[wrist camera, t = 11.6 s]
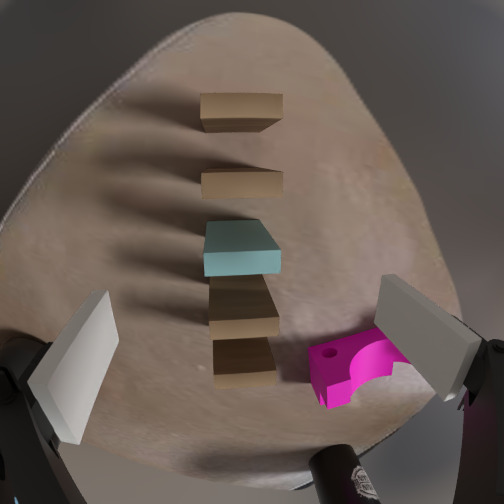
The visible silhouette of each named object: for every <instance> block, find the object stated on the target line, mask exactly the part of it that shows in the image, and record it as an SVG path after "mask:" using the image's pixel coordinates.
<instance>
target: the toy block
mask: <svg viewBox="0 0 504 504" xmlns="http://www.w3.org/2000/svg"><path fill="white" fill-rule="evenodd" d="M308 355H309V365H310V376H311V384H312V387H313V389H314V391H315V394H316V396H317V398H318V401H319V403H320V405H323V404H325V405H326V407H327V409H330V408H334V407H337V406H340V405H343V404H346V403H349V402H350V397H351V396H352V394H353V393H354V391H355V390H356V389H357V388H358V387H359V386H360V385H362V384H363V383H365V382H367V381H369V380H371V379H374V378H377V377H381V376H388V375H392V368H393V362H405V363H409V364H411V363H410V362H409V361H408V360H407V358H406V357H405V356H404V355H403V354H402V353H401V352H400V351H399V350H398V348H397V347H396V346H395V345H394V344H393V343H392V342H391V341H390V340H389V339H388V338H387V336H386V335H385V334H384V333H383V332H382V331H381V330H380V329H379V328H378V327H376V328H373V329H370V330H367V331H364V332H361V333H357V334H354V335H351V336H348V337H344V338H341V339H337V340H334V341H330V342H327V343H323V344H319V345H316V346H312V347H308Z"/></svg>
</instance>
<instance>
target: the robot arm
mask: <svg viewBox="0 0 504 504" xmlns="http://www.w3.org/2000/svg"><path fill="white" fill-rule="evenodd" d="M374 324H375V325H376V326H377V327H378V328H379V329H380V330H381V331H382V332H383V333H384V334H385V335H386V336H387V338H388V339H389V340H390V341H391V342H392V343H393V344H394V345H395V346H396V347H397V348H398V350H399V351H400V352H401V353H402V354H403V355H404V356H405V357H406V358H407V360H408V361H409V362H410V363H411V364H412V365H413V366H414V367H415V368H416V370H417V371H418V372H419V373H420V374H421V375H422V376H423V378H424V379H425V380H426V381H427V382H428V383H429V384H430V385H431V387H432V388H433V389H434V390H435V391H436V392H437V394H438V395H439V396H440V397H441V398H442V399H443V400H444V401H447V400H449V399H452V398H454V397H456V396H458V394H459V392H460V390H461V388H462V385H463V384H464V385H465V386H466V387H467V390H466V392H465V394H464V396H463V398H462V400H461V402H460V404H459V406H458V409H457V410H460V408H461V406H462V405H464V409H463V411H464V424H463V438H462V448H461V457H460V466H459V473H458V479H457V485H456V490H455V495H454V500H453V504H504V341H502V340H498V339H492V340H490V341H488V342H487V341H486V340H485V339H484V338H482V337H481V336H480V335H479V334H477V333H476V332H475V331H473V330H472V329H471V328H468V326H467V325H466V324H464V323H462V321H460V320H459V319H458V318H456V317H455V316H453V315H451V314H449V313H448V312H447V311H445V310H444V309H442V308H441V307H440V306H438V305H437V304H436V303H434V302H433V301H432V300H430V299H429V298H428V297H426V296H425V295H423V294H422V293H421V292H419V291H418V290H416V289H415V288H414V287H412V286H411V285H409V284H408V283H407V282H405V281H404V280H402V279H401V278H399V277H398V276H397V275H395V274H387V275H382V279H381V285H380V291H379V297H378V303H377V309H376V314H375V319H374ZM118 342H119V338H118V334H117V330H116V326H115V321H114V317H113V312H112V308H111V303H110V298H109V293H108V290H93V291H92V292H91V294H90V295H89V296H88V297H87V299H86V300H85V301H84V303H83V304H82V305H81V306H80V308H79V309H78V310H77V312H76V313H75V314H74V315H73V317H72V318H71V319H70V321H69V322H68V323H67V325H66V326H65V327H64V329H63V330H62V332H61V333H60V334H59V336H58V337H57V338H56V340H55V341H54V342H48V343H47V344H46V345H42V344H40V343H38V342H36V341H33V340H30V339H26V338H13V339H11V340H9V341H7V342H6V343H5V344H4V346H3V347H2V348H1V349H0V504H87V502H86V501H85V499H84V498H83V496H82V495H81V493H80V491H79V489H78V488H77V486H76V484H75V483H74V481H73V479H72V477H71V475H70V474H69V472H68V470H67V468H66V466H65V464H64V462H63V460H62V458H61V457H60V454H59V452H58V450H57V449H58V446H59V444H60V442H61V441H63V442H68V443H73V444H78V445H79V444H80V441H81V438H82V436H83V433H84V430H85V427H86V424H87V421H88V418H89V415H90V413H91V410H92V407H93V405H94V402H95V399H96V397H97V394H98V391H99V389H100V386H101V384H102V381H103V379H104V376H105V374H106V371H107V369H108V366H109V364H110V361H111V359H112V357H113V354H114V352H115V349H116V347H117V345H118Z"/></svg>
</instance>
